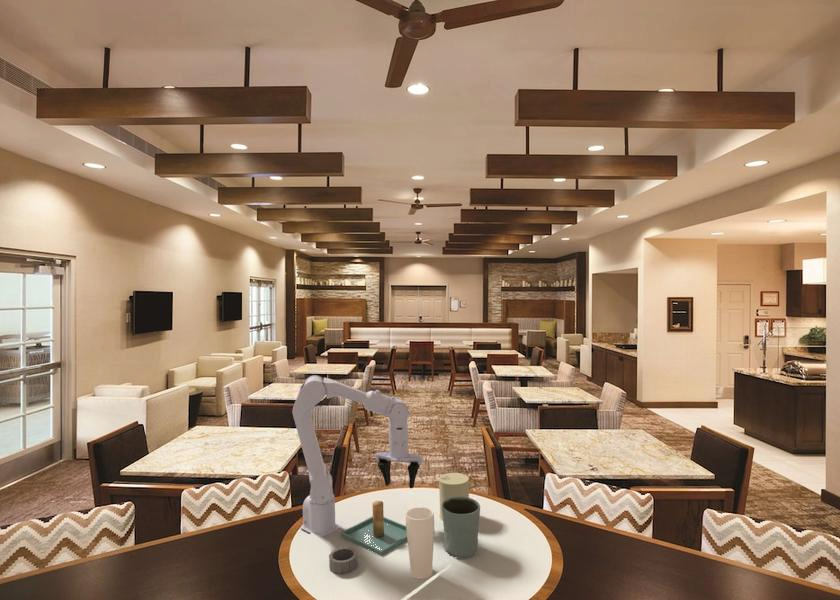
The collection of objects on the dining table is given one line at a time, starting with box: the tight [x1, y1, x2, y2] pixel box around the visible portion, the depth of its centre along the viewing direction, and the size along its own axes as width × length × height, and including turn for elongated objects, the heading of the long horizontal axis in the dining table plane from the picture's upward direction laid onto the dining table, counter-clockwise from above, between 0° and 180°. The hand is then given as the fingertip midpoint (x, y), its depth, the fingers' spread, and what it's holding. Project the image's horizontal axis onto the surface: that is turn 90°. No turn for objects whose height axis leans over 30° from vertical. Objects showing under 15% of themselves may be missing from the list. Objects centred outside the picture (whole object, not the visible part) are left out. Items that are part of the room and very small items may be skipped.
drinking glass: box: [405, 506, 435, 580], centre depth 117 cm, size 7×7×15 cm
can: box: [438, 472, 470, 521], centre depth 147 cm, size 9×9×12 cm
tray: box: [340, 515, 408, 556], centre depth 136 cm, size 16×14×2 cm
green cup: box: [442, 497, 481, 559], centre depth 128 cm, size 10×10×12 cm
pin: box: [372, 500, 385, 538], centre depth 136 cm, size 3×3×9 cm
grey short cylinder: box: [328, 546, 359, 575], centre depth 121 cm, size 7×7×3 cm
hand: (399, 485), depth 145 cm, fingers open, 7 cm apart
